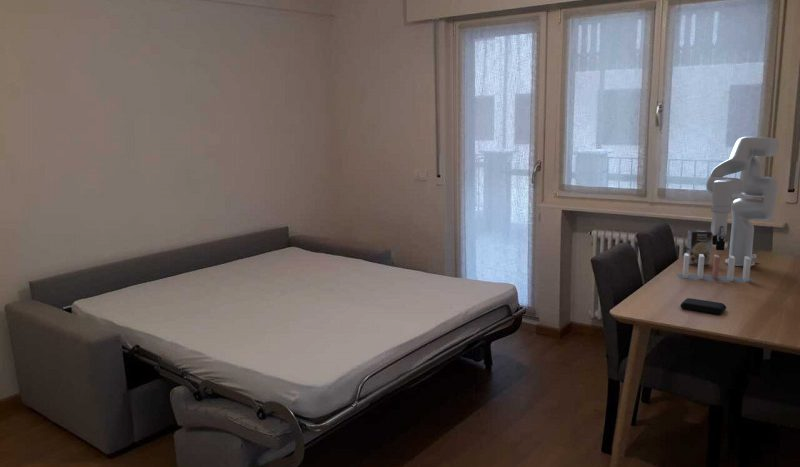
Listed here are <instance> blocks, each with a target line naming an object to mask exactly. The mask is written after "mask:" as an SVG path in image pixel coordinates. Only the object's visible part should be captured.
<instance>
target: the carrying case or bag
mask: <svg viewBox="0 0 800 467" xmlns="http://www.w3.org/2000/svg"><path fill="white" fill-rule="evenodd" d="M679 306H680V308H681V309H682V310H684V311H687V312H688V311H689V312H693V313H701V314H707V315H713V316H721V315H722V314H724V312H725V311H726V309H727V306H726V305H725V303H722V302H718V301H717V302H716V301H711V300H706V299H699V298H698V299H697V298H690V297H688V298H686V299H685V300H683V301H682V303H680V305H679Z"/></svg>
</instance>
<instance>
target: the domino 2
mask: <svg viewBox="0 0 800 467" xmlns="http://www.w3.org/2000/svg"><path fill="white" fill-rule="evenodd" d="M704 258H705V257H704V255H703V254H699V260H698V264H697V273H696V275H697V276H698V278H699V279H703V275H704V269H705V268H704V267H705V265H704Z"/></svg>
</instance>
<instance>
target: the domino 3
mask: <svg viewBox="0 0 800 467" xmlns="http://www.w3.org/2000/svg"><path fill="white" fill-rule="evenodd" d="M728 259H729V261H728V264H727V276H726V277H727V278H728V280H729V281H733V278H734V277H735V268H736V266H735V257H734V256H729V255H728Z"/></svg>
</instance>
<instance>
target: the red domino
mask: <svg viewBox="0 0 800 467" xmlns="http://www.w3.org/2000/svg"><path fill="white" fill-rule="evenodd" d="M720 258H721V257H720V256H719V255H718V254H713V260H712V271H711V272H712V273H711V276H712V278H713V279H714V280H718V276H719V272H720V261H721V259H720Z"/></svg>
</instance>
